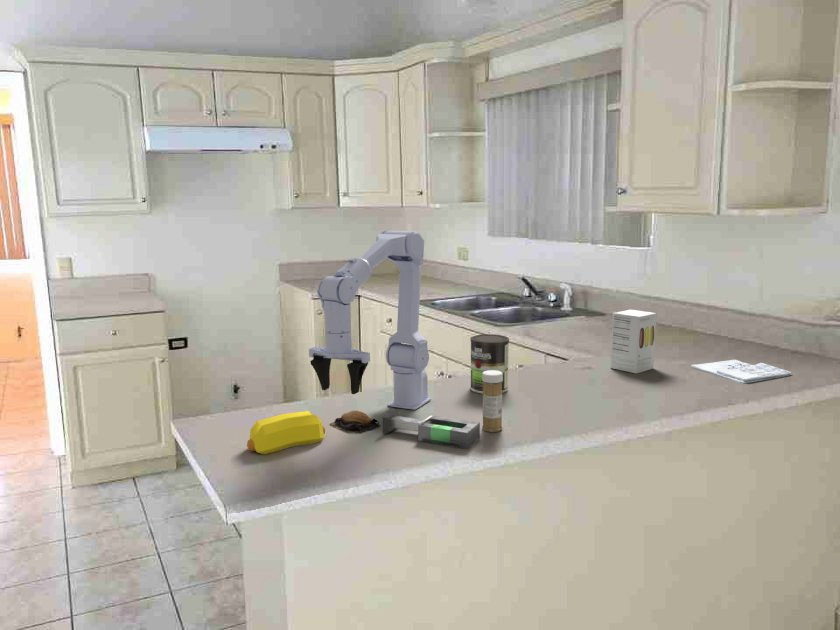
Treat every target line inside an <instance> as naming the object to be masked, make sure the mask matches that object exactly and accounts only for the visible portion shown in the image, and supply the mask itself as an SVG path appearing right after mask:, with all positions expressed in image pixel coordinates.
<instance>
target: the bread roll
mask: <svg viewBox="0 0 840 630" xmlns="http://www.w3.org/2000/svg"><path fill="white" fill-rule="evenodd" d="M329 426H331V427H334V428H337V429H340V430H344V431H345V432H350V433H354V434H363V433H367V432H369V431H373V430H376V429H378V428H379V427H381V425H380V422H379V421H378V420H377V419H376V418H371V417H370V416H369V415H368V414H367V413H365V412H363V411H360V410H351V411H348V412H345V413H343V414H342V415H341V417H336V418H335V420H334V421H333V422H330V423H329Z"/></svg>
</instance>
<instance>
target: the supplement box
mask: <svg viewBox="0 0 840 630" xmlns="http://www.w3.org/2000/svg"><path fill="white" fill-rule="evenodd" d="M656 323H657V313H656V312H653V311H652V312H651V311H643V310H639V309H638V310H636V309H627V310H621V311H617V312H613V313H612V318H611V341H610V342H611V343H610V344H611V347H610V368H609V369H615V370H618V371H622V372H628V373H632V374H635V375H636V374H640V373H644V372H646V371H649V370H652V369H654V363H655V346H656V345H655V344H656V343H655V341H656V331H657V330H656V328H657V325H656Z"/></svg>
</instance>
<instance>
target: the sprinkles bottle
mask: <svg viewBox="0 0 840 630" xmlns="http://www.w3.org/2000/svg"><path fill="white" fill-rule="evenodd" d="M482 380H483V394H482V426H481V427H482V430H483V431H485V432H488V433H489V432H490V433H496V432H497V433H498V432H500V431H502V429H503V425H502V424H503V423H502V422H503V421H502V417H503V393H502V381H503V373H502V372H500V371H496V370H488V371H484V372H483V373H482Z"/></svg>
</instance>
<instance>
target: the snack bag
mask: <svg viewBox="0 0 840 630" xmlns="http://www.w3.org/2000/svg"><path fill="white" fill-rule="evenodd" d="M690 366H691V367H690V368H691V369H693V370H698V371H700V372H701V371H702V372H705V373H708V374H711V375H714V376H716V377H717V376H718V377H721V378H724V379H726V380H730V381H734V382H736V383H739V384H743V385H744V384H748V383H755V382H760V381H766V380H772V379H777V378H783V377H788V376H789V377H790V375H792V374H793V373H792V372H791V371H789V370H786V369H781V368H779V367H777V366H773V365H770V364H767V363H763V362H759V363H756V364H752V363H747V362H742V361H741V360H738V359H730V360H722V361H714V362H708V363H698V364H691V365H690Z"/></svg>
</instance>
